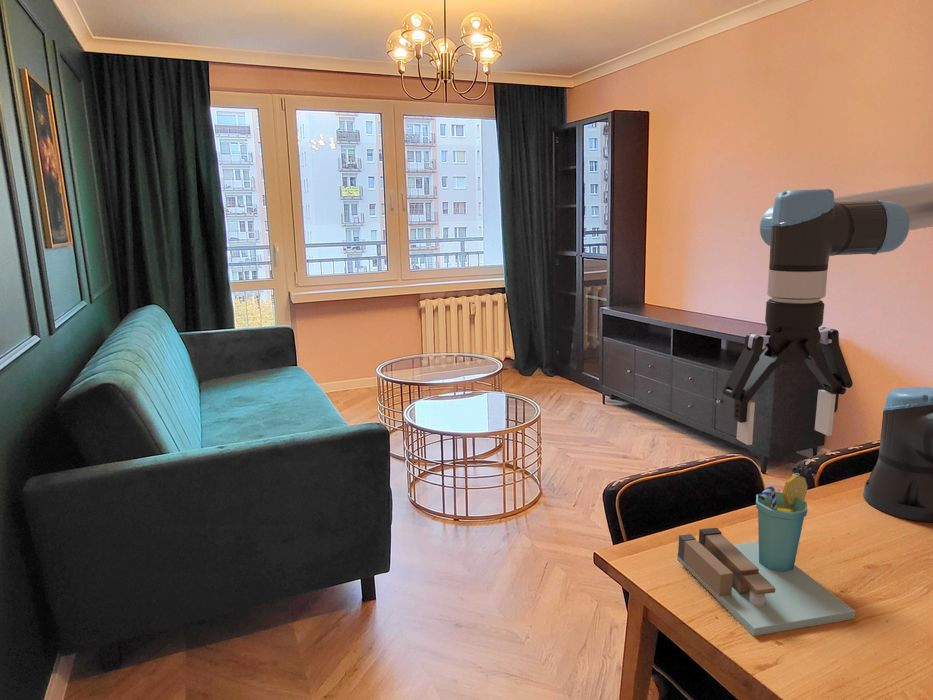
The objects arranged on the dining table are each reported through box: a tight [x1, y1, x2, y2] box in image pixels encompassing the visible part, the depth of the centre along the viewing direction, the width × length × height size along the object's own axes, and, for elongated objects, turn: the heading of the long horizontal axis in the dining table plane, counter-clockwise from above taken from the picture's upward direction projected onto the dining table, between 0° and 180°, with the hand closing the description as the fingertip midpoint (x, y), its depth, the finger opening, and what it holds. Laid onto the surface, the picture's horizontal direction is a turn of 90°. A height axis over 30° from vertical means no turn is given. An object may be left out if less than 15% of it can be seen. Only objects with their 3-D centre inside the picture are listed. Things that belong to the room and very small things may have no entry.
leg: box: [698, 527, 775, 595], centre depth 97 cm, size 16×3×4 cm, turn 8°
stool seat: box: [676, 533, 856, 637], centre depth 96 cm, size 16×20×5 cm
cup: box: [755, 474, 809, 572], centre depth 99 cm, size 14×8×15 cm, turn 132°
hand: (784, 437), depth 96 cm, fingers open, 13 cm apart
